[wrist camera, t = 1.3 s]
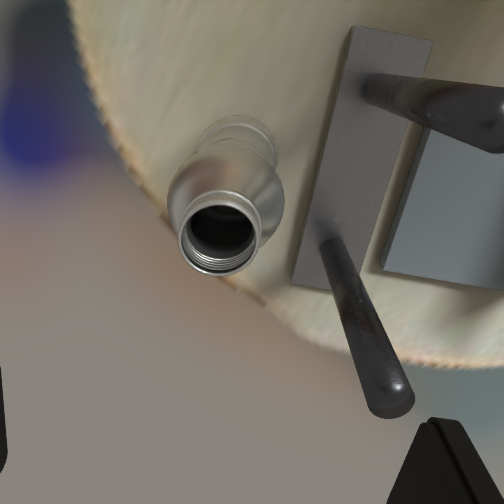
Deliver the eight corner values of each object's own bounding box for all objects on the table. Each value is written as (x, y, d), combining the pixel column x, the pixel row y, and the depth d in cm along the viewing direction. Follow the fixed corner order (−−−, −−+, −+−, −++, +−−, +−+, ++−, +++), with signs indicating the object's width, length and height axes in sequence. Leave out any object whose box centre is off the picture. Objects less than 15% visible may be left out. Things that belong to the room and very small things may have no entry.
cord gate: (351, 26, 33) (469, -14, 15) (426, 42, 34) (633, 21, 15) (290, 276, 42) (315, 448, 24) (349, 286, 43) (421, 464, 24)
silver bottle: (291, 159, 38) (323, 254, 19) (229, 202, 39) (204, 328, 21) (248, 94, 36) (237, 133, 17) (184, 143, 37) (112, 226, 19)
